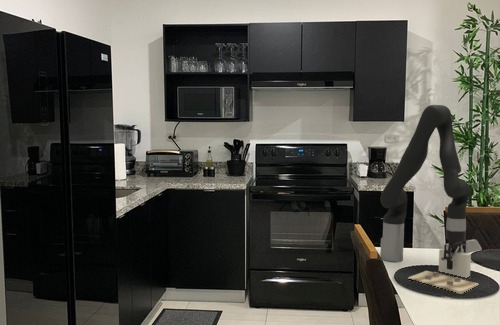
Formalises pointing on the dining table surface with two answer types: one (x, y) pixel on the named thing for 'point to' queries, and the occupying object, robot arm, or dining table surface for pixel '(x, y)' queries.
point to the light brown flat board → (444, 281)
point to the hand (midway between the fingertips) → (454, 267)
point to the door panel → (456, 264)
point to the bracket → (471, 246)
